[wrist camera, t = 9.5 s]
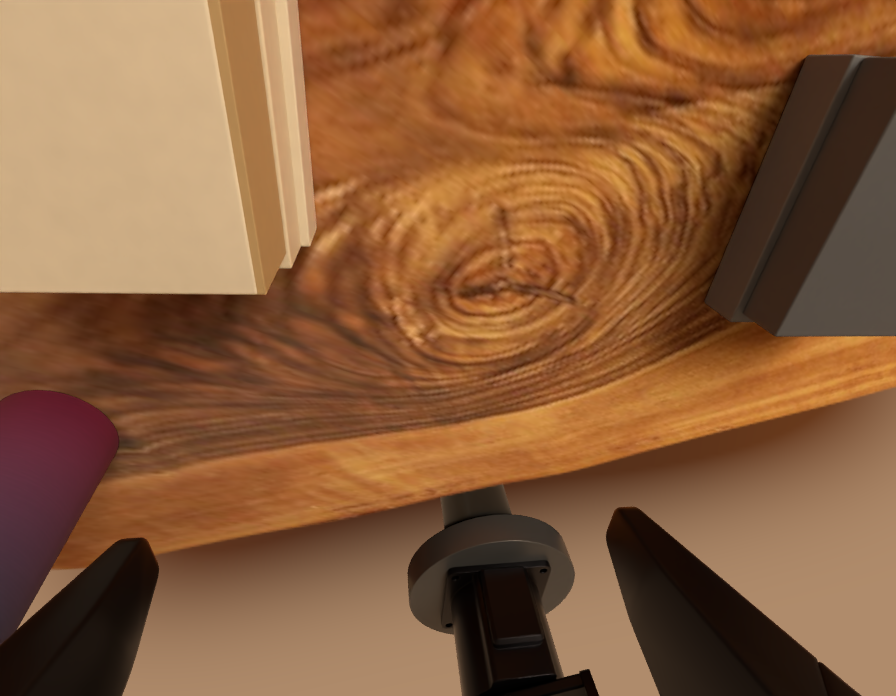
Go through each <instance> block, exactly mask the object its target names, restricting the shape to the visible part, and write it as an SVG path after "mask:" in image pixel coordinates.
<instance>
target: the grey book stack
mask: <svg viewBox="0 0 896 696" xmlns="http://www.w3.org/2000/svg"><path fill="white" fill-rule="evenodd" d="M705 303H706V304H707V305H709V306H710V307H711V308H712V309H714V310H715V311H716V312H718V313H719V314H720V315H722V316H723V317H724V318H726V319H727V320H728V321H730V322H755V323H757V324H758V325H759V326H761V327H762V328H764V329H765V330H767V331H768V332H769V333H771V334H772V335H774V336H776V337H778V336H896V57H875V56H865V55H855V54H849V55H808V56H807V57H806V59H805V61H804V64H803V66H802V69H801V71H800V73H799V76H798V78H797V81H796V83H795V85H794V88H793V90H792V93H791V95H790V97H789V100H788V102H787V105H786V107H785V109H784V112H783V114H782V117H781V119H780V121H779V124H778V126H777V129H776V131H775V133H774V136H773V138H772V141H771V143H770V145H769V148H768V150H767V153H766V155H765V157H764V160H763V162H762V165H761V167H760V169H759V172H758V174H757V177H756V179H755V181H754V184H753V186H752V189H751V191H750V193H749V196H748V198H747V200H746V203H745V205H744V208H743V210H742V212H741V215H740V217H739V220H738V222H737V224H736V227H735V229H734V232H733V234H732V236H731V239H730V241H729V244H728V246H727V248H726V251H725V253H724V256H723V258H722V260H721V263H720V265H719V268H718V270H717V272H716V275H715V277H714V280H713V282H712V284H711V287H710V289H709V292H708V294H707V296H706V299H705Z"/></svg>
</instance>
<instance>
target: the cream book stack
mask: <svg viewBox="0 0 896 696" xmlns="http://www.w3.org/2000/svg"><path fill="white" fill-rule="evenodd" d="M254 2H255V10H256V18H257V26H258V34H259V41H260V49H261V57H262V65H263V73H264V81H265V89H266V97H267V105H268V113H269V120H270V128H271V136H272V144H273V152H274V160H275V168H276V176H277V184H278V192H279V200H280V207H281V215H282V223H283V231H284V239H285V247H286V255H285V257H284V259H283V261H282V263H281V265H280V267H279V268H292V266H293V264H294V261H295V259H296V257H297V254H298V252H299V249H300V247H301V246H302V247H309V246H310V245H311V242H312V239H313V237H314V234H315V231H316V229H317V226H316V214H315V202H314V190H313V179H312V167H311V155H310V143H309V131H308V120H307V108H306V96H305V84H304V72H303V61H302V49H301V37H300V25H299V13H298V2H297V0H254Z"/></svg>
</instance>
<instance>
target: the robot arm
mask: <svg viewBox="0 0 896 696" xmlns="http://www.w3.org/2000/svg"><path fill="white" fill-rule="evenodd" d="M606 541H607V546H608V549H609V553H610V556H611V559H612V563H613V566H614V569H615V572H616V576H617V579H618V583H619V586H620V589H621V593H622V596H623V599H624V602H625V606H626V609H627V613H628V616H629V619H630V622H631V624H632V627H633V629H634V632H635V634H636V637H637V640H638V642H639V645H640V647H641V649H642V652H643V654H644V657H645V659H646V662H647V664H648V667H649V669H650V672H651V674H652V677H653V679H654V682H655V684H656V686H657V689H658V691H659V694H660V696H861V695H860V694H859V693H857V692H856V691H855V690H854V689H853V688H851V687H850V686H849V685H848V684H846V683H845V682H844V681H843V680H842V679H841V678H839V677H838V676H837V675H836V674H835V673H833V672H832V671H831V670H830V669H829V668H828V667H826V666H825V665H824V664H823V663H821V662H818V661H817V659H816V658H815V657H814V656H813V655H812V654H811V653H809V652H808V651H807V650H806V649H805V648H804V647H802V646H801V645H800V644H799V643H798V642H797V641H795V640H794V639H793V638H792V637H791V636H789V635H788V634H787V633H786V632H785V631H783V630H782V629H781V628H780V627H779V626H778V625H776V624H775V623H774V622H773V621H772V620H770V619H769V618H768V617H767V616H766V615H764V614H763V613H762V612H761V611H760V610H758V609H757V608H756V607H755V606H754V605H752V604H751V603H750V602H749V601H748V600H747V599H745V598H744V597H743V596H742V595H741V594H740V593H738V592H737V591H736V590H735V589H733V588H732V587H731V586H730V585H729V584H728V583H727V582H725V581H724V580H723V579H722V578H720V577H719V576H718V575H717V574H716V573H715V572H713V571H712V570H711V569H710V568H709V567H708V566H706V565H705V564H704V563H703V562H701V561H700V560H699V559H698V558H697V557H696V556H694V555H693V554H692V553H691V552H690V551H688V550H687V549H686V548H685V547H684V546H683V545H681V544H680V543H679V542H678V541H677V540H675V539H674V538H673V537H672V536H671V535H670V534H668V533H667V532H666V531H665V530H664V529H662V528H661V527H660V526H659V525H658V524H657V523H655V522H654V521H653V520H652V519H651V518H649V517H648V516H647V515H646V514H645V513H643V512H642V511H641V510H640V509H638V508H636V507H619V508H617V509H616V510H615V511H614V513H613V516H612V519H611V521H610V524H609V527H608V529H607V534H606ZM550 572H551V566H550V563H549V562H548V561H547V560H538V561H525V562H512V563H499V564H486V565H474V566H461V567H452V568H450V569H449V570H448V571H447V574H446V582H445V591H444V599H443V607H442V615H441V625H442V628H444V629H454V636H455V644H456V651H457V659H458V667H459V675H460V683H461V691H462V696H599V694H598V692H597V689H596V686H595V684H594V681H593V678H592V675H591V673H590V670H589V669H587V670H582V671H580V673H579V674H575V675H571V676H567V677H564V676H563V672H562V669H561V665H560V662H559V659H558V655H557V652H556V649H555V645H554V642H553V639H552V635H551V632H550V628H549V625H548V622H547V619H546V615H545V611H544V608H543V605H542V601H541V599H542V596H543V593H544V590H545V587H546V584H547V581H548V578H549V575H550ZM158 573H159V566H158V562H157V560H156V558H155V556H154V553H153V551H152V549H151V547H150V545H149V542H148V541H147V540H146V539H145V538H127V539H121V540H119V541H117V542H115V543H114V544H113V545H112V546H111V547H110V548H108V549H107V550H106V551H105V552H104V553H103V554H102V555H101V556H99V557H98V558H97V559H96V560H95V561H94V562H93V563H92V564H90V565H89V566H88V567H87V568H86V569H85V570H84V571H83V572H81V573H80V574H79V575H78V576H77V577H76V578H75V579H74V580H72V581H71V582H70V583H69V584H68V585H67V586H66V587H65V588H63V589H62V590H61V591H60V592H59V593H58V594H57V595H56V596H54V597H53V598H52V599H51V600H50V601H49V602H48V603H47V604H45V605H44V606H43V607H42V608H41V609H40V610H39V611H38V612H36V613H35V614H34V615H33V616H32V617H31V618H30V619H29V620H27V622H25V623H24V624H23V625H22V626H21V627H20V628H19V629H18V630H16V631H15V632H14V633H13V634H12V635H11V636H9V637H8V638H7V639H6V640H5V641H4V642H3V643H2V644H1V645H0V696H122V694H123V692H124V689H125V687H126V684H127V681H128V679H129V675H130V673H131V670H132V667H133V664H134V661H135V657H136V654H137V651H138V647H139V644H140V640H141V636H142V633H143V629H144V625H145V622H146V618H147V615H148V611H149V608H150V604H151V601H152V597H153V593H154V590H155V586H156V583H157V579H158Z"/></svg>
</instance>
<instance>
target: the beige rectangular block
mask: <svg viewBox="0 0 896 696" xmlns="http://www.w3.org/2000/svg"><path fill="white" fill-rule="evenodd" d="M285 255H286V247H285V239H284V231H283V223H282V215H281V207H280V200H279V192H278V184H277V176H276V168H275V160H274V152H273V144H272V136H271V128H270V120H269V113H268V105H267V97H266V89H265V81H264V73H263V65H262V57H261V49H260V41H259V34H258V26H257V18H256V10H255V2H254V0H0V293H114V294H229V295H266V294H267V292H268V290H269V288H270V286H271V284H272V281H273V279H274V277H275V275H276V273H277V271H278V269H279V267H280V265H281V263H282V261H283V259H284V257H285Z"/></svg>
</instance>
